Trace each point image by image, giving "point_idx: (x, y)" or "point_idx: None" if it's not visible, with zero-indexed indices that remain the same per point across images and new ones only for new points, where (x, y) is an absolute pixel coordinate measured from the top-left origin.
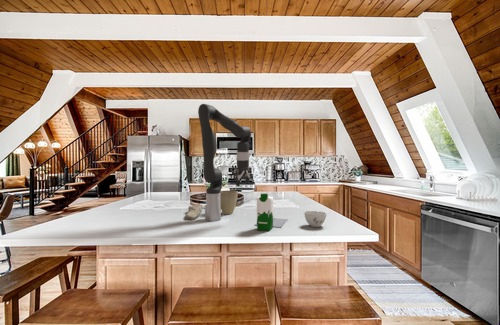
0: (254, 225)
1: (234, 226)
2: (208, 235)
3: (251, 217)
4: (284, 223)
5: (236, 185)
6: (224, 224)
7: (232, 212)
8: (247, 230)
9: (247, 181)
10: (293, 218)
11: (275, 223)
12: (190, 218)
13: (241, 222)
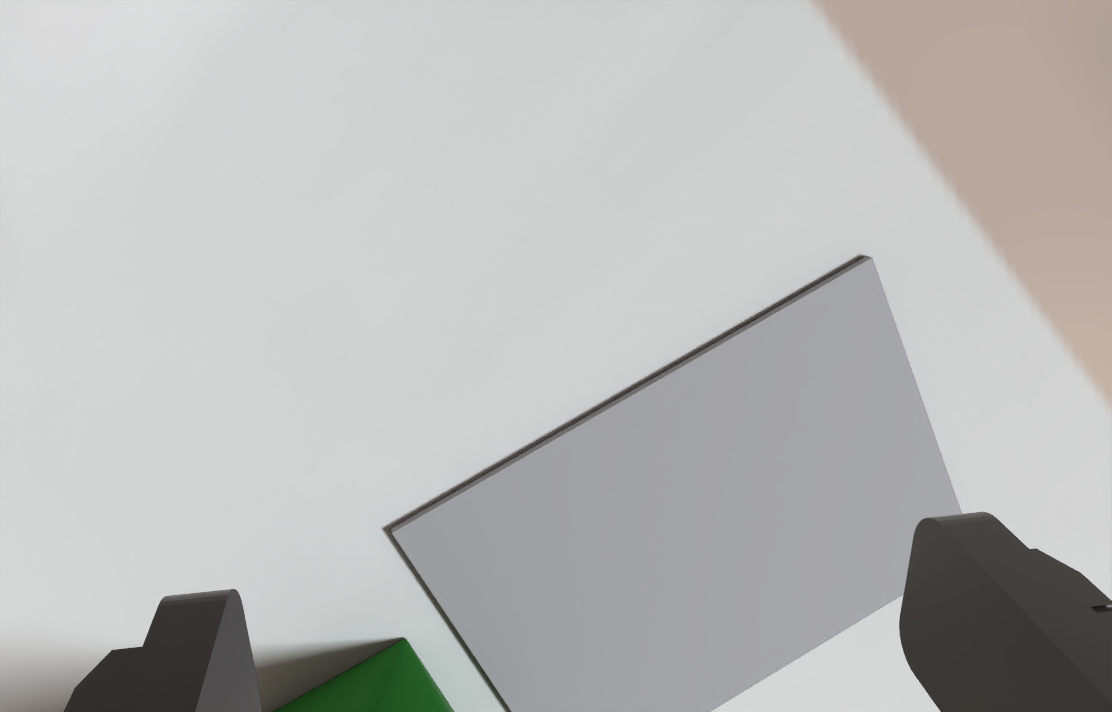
0: (392, 533)
1: (106, 371)
2: None
3: (787, 65)
4: (767, 671)
5: (168, 598)
6: (37, 134)
7: None
8: None
9: (976, 689)
10: (1072, 539)
11: (673, 632)
12: None
13: (390, 233)
